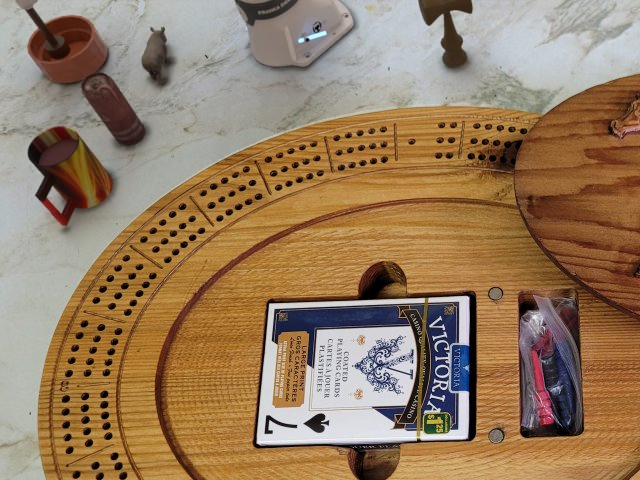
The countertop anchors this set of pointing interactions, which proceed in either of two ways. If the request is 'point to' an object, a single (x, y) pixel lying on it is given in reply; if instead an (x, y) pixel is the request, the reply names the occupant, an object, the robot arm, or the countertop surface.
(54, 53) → the disc-capped wooden dowel
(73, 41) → the bowl
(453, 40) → the kendama
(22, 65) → the countertop surface
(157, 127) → the countertop surface
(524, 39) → the countertop surface
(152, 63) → the rhino figurine
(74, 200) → the mug
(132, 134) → the can
